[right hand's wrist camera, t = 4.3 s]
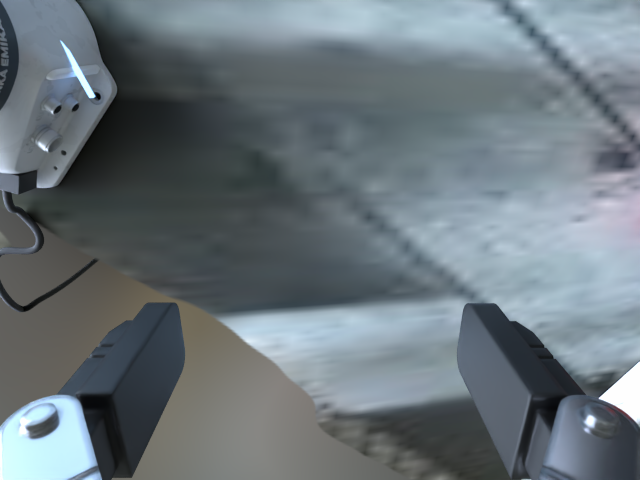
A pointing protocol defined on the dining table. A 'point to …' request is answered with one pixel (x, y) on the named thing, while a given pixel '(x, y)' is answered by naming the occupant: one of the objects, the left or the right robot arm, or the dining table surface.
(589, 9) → the dining table surface
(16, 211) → the left robot arm
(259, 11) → the dining table surface
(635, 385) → the relief map
